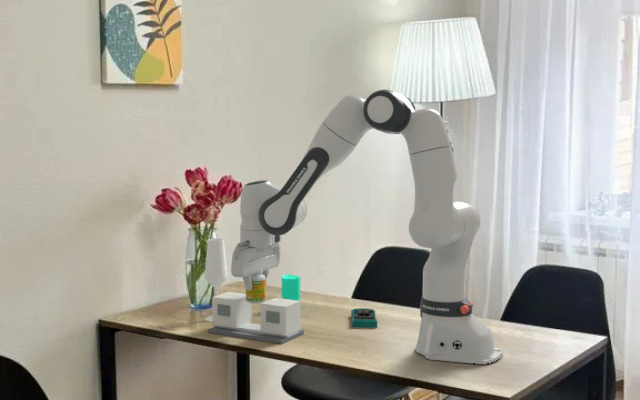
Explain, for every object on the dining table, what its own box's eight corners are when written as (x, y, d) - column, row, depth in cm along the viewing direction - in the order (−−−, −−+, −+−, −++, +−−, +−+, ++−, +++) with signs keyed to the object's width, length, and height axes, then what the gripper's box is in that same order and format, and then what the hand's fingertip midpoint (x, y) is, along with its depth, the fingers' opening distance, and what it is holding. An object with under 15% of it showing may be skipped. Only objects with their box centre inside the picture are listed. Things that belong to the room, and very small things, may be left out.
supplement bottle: (251, 304, 248) (251, 270, 247) (242, 300, 253) (242, 266, 251) (268, 302, 251) (268, 268, 250) (259, 298, 256) (259, 264, 254)
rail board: (303, 334, 252) (303, 299, 251) (281, 344, 242) (282, 308, 241) (232, 323, 264) (232, 290, 262) (208, 332, 253) (208, 298, 252)
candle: (279, 307, 284) (279, 270, 282) (297, 306, 285) (297, 269, 284) (284, 312, 278) (284, 273, 277) (302, 311, 280) (303, 272, 278)
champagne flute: (211, 322, 264) (211, 242, 261) (200, 318, 269) (200, 239, 267) (231, 319, 268) (231, 240, 265) (220, 315, 273) (220, 237, 271)
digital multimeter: (375, 317, 274) (375, 307, 274) (377, 329, 260) (377, 319, 259) (351, 317, 275) (351, 307, 274) (351, 329, 260) (352, 319, 259)
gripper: (245, 244, 239) (245, 296, 241) (284, 235, 257) (283, 282, 259) (225, 242, 242) (225, 293, 244) (265, 233, 260) (265, 280, 262)
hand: (255, 287), depth 251 cm, fingers closed on supplement bottle, 5 cm apart
